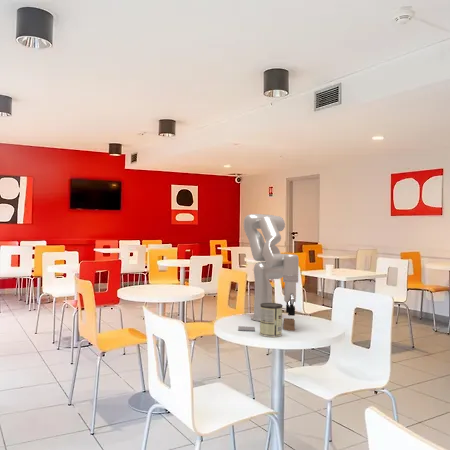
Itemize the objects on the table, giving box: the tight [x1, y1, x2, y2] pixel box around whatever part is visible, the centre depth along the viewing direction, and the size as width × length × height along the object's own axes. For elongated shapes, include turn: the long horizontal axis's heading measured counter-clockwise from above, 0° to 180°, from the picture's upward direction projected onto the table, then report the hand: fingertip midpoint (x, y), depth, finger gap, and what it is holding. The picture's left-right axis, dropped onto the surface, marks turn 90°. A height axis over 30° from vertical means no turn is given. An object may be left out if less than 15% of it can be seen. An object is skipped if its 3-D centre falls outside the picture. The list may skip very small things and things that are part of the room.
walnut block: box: [282, 317, 296, 331], centre depth 222 cm, size 5×5×5 cm
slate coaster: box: [238, 325, 256, 332], centre depth 218 cm, size 8×8×1 cm
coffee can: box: [259, 302, 284, 338], centre depth 208 cm, size 10×10×14 cm
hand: (290, 314), depth 221 cm, fingers open, 9 cm apart
